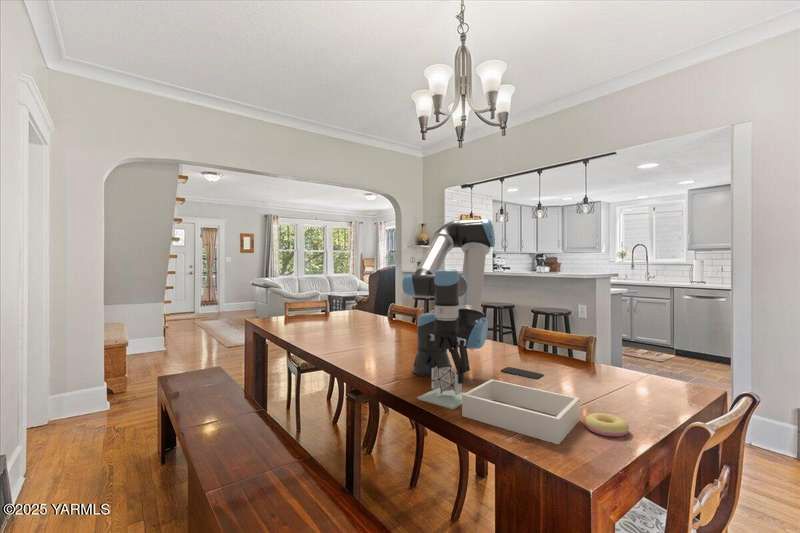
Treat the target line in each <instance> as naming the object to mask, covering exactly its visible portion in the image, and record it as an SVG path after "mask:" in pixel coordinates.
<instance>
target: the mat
mask: <svg viewBox="0 0 800 533" xmlns="http://www.w3.org/2000/svg"><path fill="white" fill-rule="evenodd" d="M440 392H441V390H440V389H439V387H437V388H435V389H432V390H431V391H427V392H426V393H423V394H422V395H419V396H417V400H419V401H423V402H427V403H430V404H433V405H437V406H440V407H444V408H446V409H451V410H455V409H457V408H458V407H460V406H461V405H462V395H463V394H464V393H465V392H463V391H462V393H460V394H458V395H455V392H454V390H449V391H442V393H440Z"/></svg>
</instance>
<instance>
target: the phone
mask: <svg viewBox="0 0 800 533" xmlns="http://www.w3.org/2000/svg"><path fill="white" fill-rule="evenodd" d="M500 373H503V374H508V375H512V376H517V375H518V376H517V377H522V378H527V379H531V380H539V379H541V378H543V377H545V375H544V373H540V372H535V371H531V370H526V369H521V368H516V367H511V366H507V367H504V368H501V369H500Z"/></svg>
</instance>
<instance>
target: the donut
mask: <svg viewBox="0 0 800 533" xmlns="http://www.w3.org/2000/svg"><path fill="white" fill-rule="evenodd" d="M584 425H585V427H586V428H587V429H588V431H591V432H592V433H595V434H597V435H600V436H604V437H610V438H611V437H613V438H616V437H617V438H618V437H619V438H620V437H623V436H625V435H627V434H628V433H629V432H630V431H629V430H630V426H629V424H628V422H627V421H626V420H625V419H623V418H621V417H620V416H617V415H614V414H610V413H604V412H593V413H589V414H588V415H587V416H585V418H584Z"/></svg>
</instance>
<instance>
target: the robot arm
mask: <svg viewBox="0 0 800 533" xmlns="http://www.w3.org/2000/svg"><path fill="white" fill-rule="evenodd" d="M493 225H494V224H493V223H492V220H491V219H488V218H487V219H485V218H483V219H482V218H479V219H461V220H459V219H456V220H452V221H450V222H449V221H448V222H447V223H445V224H444V225H442V226H441V227H439V228H438V229H437V230H436V231H435V232H434V234H433V235H432V238H431V241H430V243H431V244H430V246H429V248H427V251H426V253H425V254H424V256H423V258H422V260H421V261H420V263H419V265H418V267H417V268H416V270H415V271H414V273H413V274H412V273H410V274H409V273H408V274H406V275H404V276H403V278H402V285H401V286H402V291H403V293H404V295H406V296H414V297H434V311H432V312H426V313H421V314H420V315H419V316H418V317H417V325H416V328H417V329H416V330H417V332H416V334H417V338H416V339H417V345H416V346H417V352H416V355H415V358H414V361H413V364H412V372H413V373H414V374H415V373H416V375H417V374H418V376H421V375H422V377H426V376H428V377H427V378H429V377H430V378H431V380H434V377H435V375H436V372H437V370H438V368H437V366H438V367H439V368H443V367H450V365H451V364H452V363H451V360H450V357H449V354H448V352H449V353H450V356H451V359H452V360H453V365H454V367H455V369H456V373H455V395H458V394H460V393H462V392H463V391H462V388H463V387H462V386H463V384H464V382H465V373H467V372H469V371H470V368H471V367H470V362H469V361H470V360H469V355H468V350H471V349H473V350H474V349H475V350H477V349H478V350H479V349H481V348H482V347H483V346H484V345H485V343H486V340H487V335H488V331H489V328H488V327H489V321H488V318H487V317H485V313H484V312H483V311H482V301H483V300H482V299H483V287H484V276H485V265H486V256H487V255H488V254H490V252H491V251H490V250H491V248H495V246H496V245H495V244H496V239H495V238H496V237H495V230H494V226H493ZM455 248H461V251H462V253H464V255H463V261H462V262H463V264H462V271H461V272H462V273H461V275H460V274H459V271H458V270H457V269H441V267H442V266H443V265H442V264H444V261H445V258H446V257H447V254H448V253H450V252H451V251H452V250H453V249H455ZM452 367H453V366H452ZM452 367H451V368H452ZM452 369H453V368H452ZM437 388H439V387H438V386H437V385H436V383H435V382H434V381H431V389H432V390H434V389H437Z"/></svg>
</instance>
